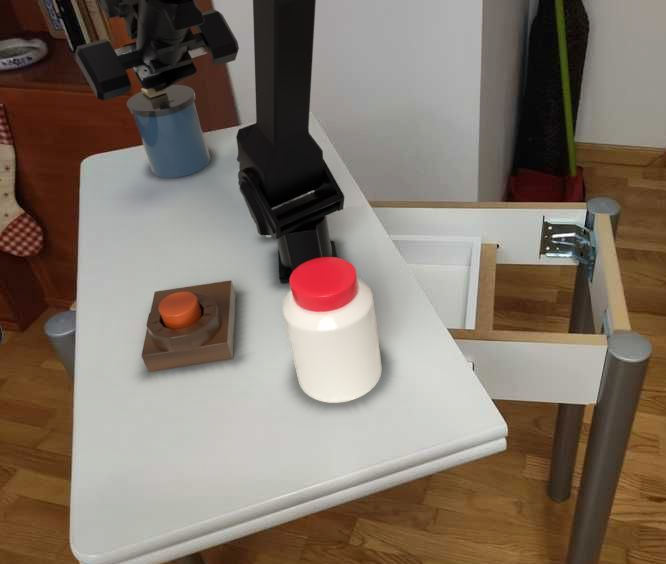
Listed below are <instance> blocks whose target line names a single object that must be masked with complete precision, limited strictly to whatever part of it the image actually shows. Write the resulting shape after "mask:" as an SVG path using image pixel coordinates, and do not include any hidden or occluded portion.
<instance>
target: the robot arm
mask: <svg viewBox="0 0 666 564" xmlns="http://www.w3.org/2000/svg"><path fill="white" fill-rule="evenodd" d="M97 2H98V5H99V7H100V9H101V10H102V12H103V13H104V15H105V16H106V17H107V18H108V19H109V20H110V19H114V18H118V19H123V20H124V22H125V33H126V34H127V36H128V37H129V39H130V41H132V40H135V41H133V42H130V43H126V44H124V45H123V46H122V47H119V48H115V49H114V47H113V45H112V44H111V42H110V40H108V39H107V38H103V39H99V40H96V41H95V40H94V41H91V42H88V43H85V44H81V45H77V47H76V50H75V53H74V54H75V61H76V63H77V65H78V67H79V69H80V70H81V72H82V74H83V76H84V78H85V80H86V81H87V83H88V85H89V87H90V88H91V90H92V91H93V94H94V95H95V97H96V99H98V100H101V101H103V102H106V101H109V100H112V99H115V98H118V97H122V96H125V95H127V93H129V92H130V91H131V90H132V82H131V80H130V77H129V74H128V72H127V71H126V70H129V69H131V70H132V72H133V73H134V75H135V77H136V78H137V81H138V82H139V84H140V86H141V87H142V88H144V89H150V88H153V89H155V91H156V92H159V91H162V90H164V89H166V88H168V87H170V86H171V85H176V84H177V83H179V82H181V81H183V80H185V79H187V78H189V77H192V76H194V75H196V74H197V67H196V65H195V64H194V62H193V58H196V57H200V56H203V55H207V54H208V52H209V54H210V56H211V58H210V61H211V64H212V65H215V66H217V67H219V66H221V65H224V64H228V63H230V62H234V61H236V60H237V56H238V53H239V50H240V47H239V42H238V40H237V38H236V36H235V34H234V33H233V31H232V29H231V27H230V25H229V24H228V22H227V20H226V18H225V16H224V15H223V13H221V12H220V11H219V10H217V9H214V8H213V9H211V10H206V11H203V12H202V10H201V9H200V7H199V5H198V3H197V2H196V0H97ZM316 3H317V0H252V11H253V12H252V14H253V15H252V16H253V43H254V44H253V48H254V49H253V51H254V53H253V55H254V84H255V85H254V86H255V117H256V119H255V120H256V121H255V123H252V124H249V125H247V126H244V127H242V128H239V129H238V130H237V133H236V137H235V138H236V145H237V157H236V161H237V162H238V163H239V171H238V173H237V180H238V181H237V184H238V186H239V187H238V189H239V191H240V194H241V195H242V198H243V199H244V202H245V204H246V207H247V209H248V211H249V216H251V218H252V220H253V222H254V224H255V226H256V231H257V233H258V235H260V236H266V235H268V236H269V235H270V236H272V237H271V238H272V239H274V240H276V243H277V247H278V249H277V253H278V254H277V255H278V281H279V283H281V284H282V285H283V284H290V276H291V274H292V272H293V271H294V270H295V269H296V268H297V267H298V266H300V265H301V264H303V263H305V262H307V261H309V260H312V259H316V258H322V257H336V258H338V257H337V251H336V243H335V241H334V240H331V236H330V230H329V224H328V218H327V217H328V216H330V215H331V214H334V213H336V212H341V211H342V210H344V205H345V195H344V192H343V191H342V189H341V187H340V185H339V183H338V182H337V180H336V179H335V177H334V174H333V173H332V172H331V170H330V167H329V166H328V165H327V163H326V161H325V159H324V151H323V149H322V148H321V146H320V145H319V144H318V143H317V141H316V140H315V138H314V137H313V136H312V135H311V133H310V128H309V127H310V111H311V95H312V94H311V92H312V77H313V76H312V75H313V74H312V73H313V58H314V57H313V55H314V37H315V21H316V20H315V19H316ZM194 27H195V29H196V31H197V32H198V33H195V34H194V33H193V31H192V30H191V28H194ZM306 193H307V194H308V195H305V196H303V197H301V198H298V199H296V200H294V201H292V202H289V203H286V204H283V203H285V202H288V201H290V200H292V199H295V198H297V197H299V196H301V195H304V194H306ZM281 204H283V205H282V206H280V207H278V208H275V209H273V210H272V209H271V208H274V207H276V206H278V205H281Z"/></svg>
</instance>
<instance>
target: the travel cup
mask: <svg viewBox="0 0 666 564" xmlns="http://www.w3.org/2000/svg"><path fill="white" fill-rule="evenodd" d="M166 92H167V93H164V94H161V95H158V96H155V97H152V98H150V97H148V96H147V95H145V94H144V93H142V91H139V92H137V93H135V94H134V95H132V96H131V97H130V98H129V99H128V100H127V101H126V107H127V110H128V112H129V113H130V114H131V115H132V117H133V121H134V123H135V125H136V128H137V131H138V134H139V137H140V140H141V142H142V146H143V149H144V151H145V155H146V158H147V160H148V164H149V165H150V169H151V171H152V173H153V174H154V175H156V176H157V177H160V178H165V179H166V178H167V179H175V178H183V177H186V176H190V175H194V174H196V173H198V172H200V171H202V170H204V169H205V168H206V167H207V166H208V165H209V163H210V162H211V156H210V152H209V148H208V145H207V141H206V138H205V133H204V130H203V127H202V123H201V119H200V116H199V112H198V109H197V105H196V102H195V101H196V98H197V97H196V94H195V90H194V89H193V88H192V87H190V86H187V85H184V84H173V85H171V86H170V87H168V88H166Z"/></svg>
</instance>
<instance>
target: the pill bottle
mask: <svg viewBox="0 0 666 564" xmlns="http://www.w3.org/2000/svg"><path fill="white" fill-rule="evenodd" d="M289 287H290V289H289V290H288V291H287V293H286V294H285V296H284V297H283V300H282V303H281V313H282V318H283V322H284V326H285V330H286V331H285V332H286V335H287V339H288V343H289V348H290V351H291V355H292V359H293V363H294V369H295V371H296V376H297V377H296V378H297V380H298V383H299V386H300V388H301V390H302V391H303V392H304V393H305V394H306V395H307V396H308V397H310V398H312V399H313V400H316V401H320V402H323V403H330V404H333V403H336V404H337V403H338V404H340V403H346V402H350V401H353V400H356V399H358V398H361V397H363V396H364V395H366V394H368V393H370V391H371V390H373V389H374V388H375V387H376V385H377V384H378V382H379V381H380V379H381V376H382V369H383V368H382V367H383V366H382V358H381V349H380V342H379V341H380V340H379V332H378V326H377V325H378V324H377V318H376V309H375V300H374V293H373V292H372V290H371V288H370V286H369V285H368V284H367V283H366V282H365V281H363V280H362V279H360V278H358V274H357V269H356V268H355V266H354V265H353V264H352V263H351V262H349V261H348V260H346V259H344V258H340V257H337V258H336V257H322V258H316V259H312V260H309V261H307V262H305V263H303V264H301V265H300V266H298V267H297V268H296V269H295V270H294V271H293V272H292V274H291V276H290V283H289Z"/></svg>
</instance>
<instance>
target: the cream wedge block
mask: <svg viewBox="0 0 666 564" xmlns="http://www.w3.org/2000/svg"><path fill="white" fill-rule="evenodd" d="M140 90H141V91H140V92H142V93H144V94H145V95H147V96H148V97H150V98H152V97H155V96H158V95H161V94H164V93H167V92H166V89H164V90H162V91H159V92H156V91H155V89H153V88H150V89H144V88H143V87H142V88H140Z"/></svg>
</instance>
